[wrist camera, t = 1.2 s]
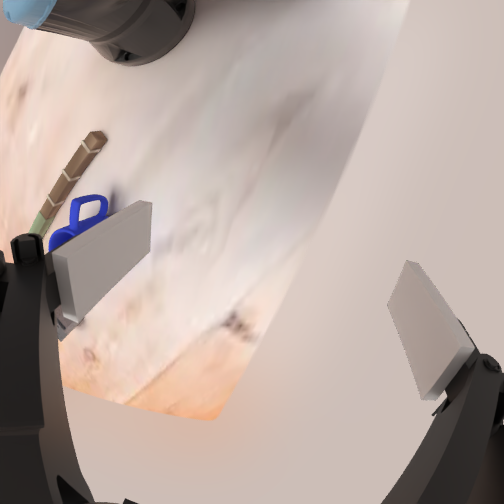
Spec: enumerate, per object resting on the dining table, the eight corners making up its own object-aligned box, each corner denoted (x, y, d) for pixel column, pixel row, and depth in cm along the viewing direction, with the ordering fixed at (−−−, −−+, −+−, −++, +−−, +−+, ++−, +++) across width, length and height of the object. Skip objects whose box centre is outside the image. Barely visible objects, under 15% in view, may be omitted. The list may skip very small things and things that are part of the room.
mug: (136, 193, 39) (94, 211, 30) (125, 265, 44) (90, 295, 35) (93, 178, 39) (49, 193, 30) (86, 247, 44) (49, 273, 35)
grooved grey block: (31, 267, 49) (12, 280, 43) (37, 256, 47) (17, 268, 42) (76, 325, 52) (60, 341, 46) (85, 316, 50) (68, 333, 45)
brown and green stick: (29, 244, 46) (20, 249, 44) (100, 130, 36) (88, 131, 34) (34, 253, 47) (26, 258, 44) (107, 140, 36) (97, 142, 34)
